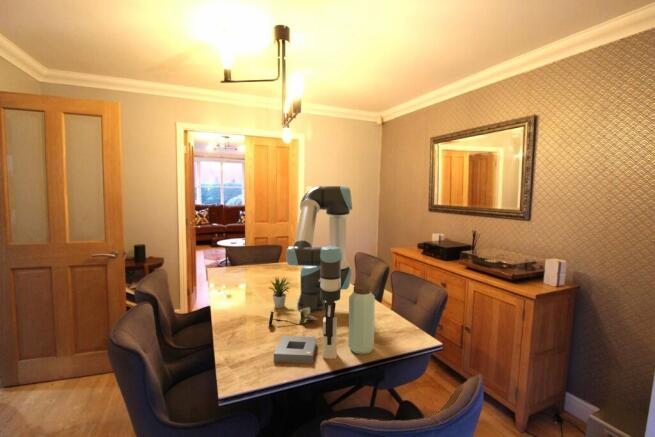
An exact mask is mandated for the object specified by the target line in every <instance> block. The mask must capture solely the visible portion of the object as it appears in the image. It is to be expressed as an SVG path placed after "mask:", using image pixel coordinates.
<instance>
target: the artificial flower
mask: <svg viewBox="0 0 655 437" xmlns="http://www.w3.org/2000/svg"><path fill="white" fill-rule="evenodd" d="M299 313H300V320H299V323H297V322H296V323H295V322H293V321H289V320H287V319H286V320H283V319H277V318H276V319H275V318H274V314H275V312H274V311H270V315H269V321H268V327H272V325H273V321H276V322H285V323H290V324H292V325H295V326H300V325H301V324H304V323H305V322H306V320H309V321H310V320H311V321H318V318H317V317H315V316H312V315H309V314H311V313H310V309H309V307H307V308H302V310H299Z"/></svg>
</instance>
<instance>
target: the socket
mask: <svg viewBox="0 0 655 437" xmlns="http://www.w3.org/2000/svg"><path fill="white" fill-rule="evenodd" d="M275 348H276V349H275V350H274V352H273V362H275V363H276V362H277V363H297V364H298V363H299V364H313V360H314V356H315V351H316V348H317V337H316V336H312V337H311V336H293V335H292V336H291V335H282V336H281V337H280V340H279V342H278V343H277V346H276V347H275Z"/></svg>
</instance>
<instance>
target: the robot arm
mask: <svg viewBox="0 0 655 437" xmlns="http://www.w3.org/2000/svg"><path fill="white" fill-rule="evenodd" d="M299 209H300V214H299V219H298V224H297V228H296V233H295V238H294V242H293V245H292V246H288V247H287V249H286V250H285V251H286V252H285V259H286V264H287V265H288V266H297V267H298V266H301V268H300V273H299V276H300V294H299V298H298V301H297V303H296V304H297V308H296V309H297V310H299V311H300V310H302V308H307V307H309V309H310V313H309V314H311V313H312V314H313V313H319V312H323V311H324V317H326V334H324V336H326V352H327V353H333V318H335V313H336V304H337V303H336V302H338V301H339V300H340V299H341V290H348V289H349V287H350V283H351V277H352V267H350V264H349V262H348V261H347V217H348V216H349V215H350V211H352V210H353V202H352V193H351V189H350V187H349V186H342V185H340V186H339V185H334V186H333V185H332V186H331V185H329V186H328V185H320V186H314V187H313V188H310V190H308V191H307V192H306V193H305V194H304V196H303V197H302V199H301V200H300V205H299ZM320 210H323V211H324V210H325V211H326V215H327V216H328V218H329V219H328V220H329V221H328V222H329V224H328V227H329V231H328V233H329V239H328V240H329V244H328V245H325V246H321V247H318V246H316V247H315V246H313V242H314V237H315V236H314V234H315V229H316V223H317V222H316V221H317V217H318V216H317V215H318V213H319V212H320Z"/></svg>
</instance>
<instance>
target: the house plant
mask: <svg viewBox="0 0 655 437" xmlns="http://www.w3.org/2000/svg"><path fill="white" fill-rule="evenodd" d="M274 278H275V279H274V280H275V282H273V281H272V280H270V283H271V284H272V285H273V287H270V286H269V287H267V289H270V290H272V291H273V294H272V299H273V304H274V308H277V309H281V308H284V307H285V304H286V297H287V294H286V293H285V292H288V293H289V289H291V287H292V285H291V286H290V284H291V282H292V281H293V279H291V280H288V277H285V276H283V278H282V279H281V281H280V279H279V278H280V277H276V276H275V277H274ZM287 280H288V281H287ZM287 285H289V286H287Z"/></svg>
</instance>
